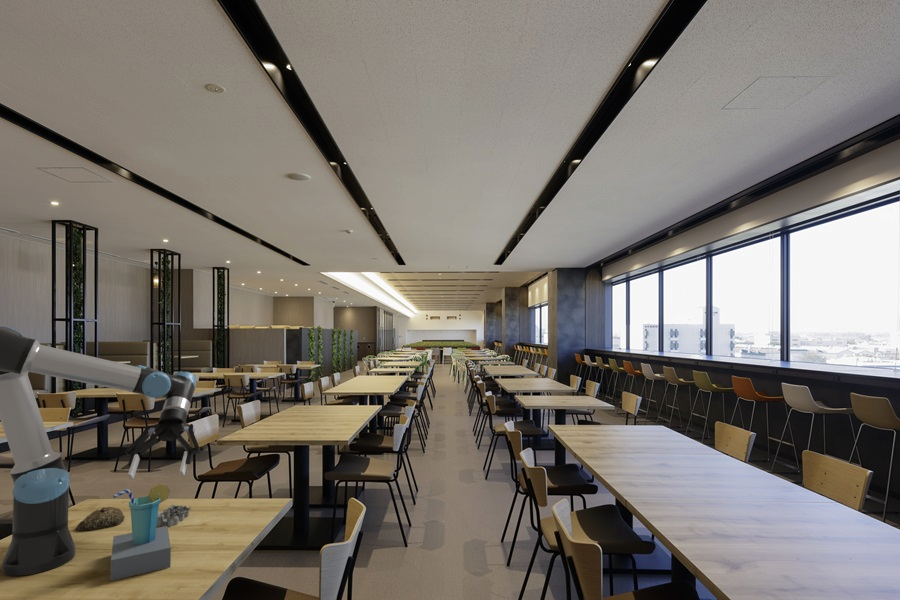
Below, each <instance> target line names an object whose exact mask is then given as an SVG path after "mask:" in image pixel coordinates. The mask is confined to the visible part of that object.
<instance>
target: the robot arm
mask: <svg viewBox="0 0 900 600" xmlns="http://www.w3.org/2000/svg"><path fill="white" fill-rule="evenodd" d="M29 373H33V374H39V375H44V376H50V377H54V378H58V379H62V380H63V379H64V380H70V381H75V382H80V383H82V384H83V383H84V384H89V385H94V386H99V387H103V388H109V389H114V390H119V391H124V392H129V393H133V394H138V395H142V396H146V397H149V398H154V399H158V398H165V400H164V404H163V407H162V411H161V413H160V416H159V420H158V423H157V425H156V427H150V425H147V426H145V428H144V430H143V431H142V432H141V434H140V435H139V436H138V437H137V438H136V439H135V440H134V441H133V442H132V443H131V444H130V445H129V446H128V447H127V448H126V449H125V451H124V453H125V454H126V456H127V457H128V458H129V461H128V463H127V466H128V467H129V471H128V473H127V475H128V478H129V479H130V480H134V479H135V475H136V472H137V470H138V465H140V464H139V463H140V460H141V458H140V456H142V455H143V454H144V453H146V452H147V451H148V450H150V449H151V448H152V447H154V446H155V445H156V444H159V443H161V442H168V441H169V442H174V441H175V440H176V441H177V442H178V443H179V444H180V445H181V446H182V447H183V449H184V450H185V451H184V452H183V456H182V461H181V464H180V468H179V474H180V476H181V477H184V476H185V474H186V470H187V466H188V465H191V464H192V460H193V456H194V454H200V453H201V448H200V446H199V443H198V440H197V438H196V435H195V431H196V430H195V427H194V424H193V423H190V424H189V425H187V426H186V423H187V422H186V421H187V419H188V415H189V411H190V407H191V403H192V399H193V396H194V393H195V390H196V385H197V378H196V376H195V374H193V373H192V372H189V371H178V372H176V373H174V374H169V373H166V372H164V371H161V370H158V369H154V368H152V367H149V366H144V365H141V364H139V365H135V366H134V365H131V364H127V363H126V364H125V363H122V362H117V361H113V360H109V359H105V358H104V359H103V358H101V357H100V358H99V357H95V356H91V355H87V354H82V353H78V352H75V351H69V350H65V349H61V348H55V347H51V346H48V345H44V344H40V342H39V341H38V340H37V339H36V338H35V339H34V338H30V337H25V336H23V334H21V333H20V332H19V331H17V330H16V329H13V328H11V327H7V326H0V422H1V425H2V429H3V431H4V434H5V435H4V436H5V438H6V441H7V443H8V447H9V450H10V452H11V456H12V459H13V462H14V465H13V467H12V468H11V470H10V473H9V474H10V477H11V479H12V482H13V484H14V485H13V488H12V496H13V500H12V502H13V505H12V534H11V535H12V536H11V540H10V543H9V545H8V548H7V551H6V553H5V556H4V558H3V560H2V566H1V572H2V574H3V575H5V576H9V577H10V576H11V577H12V576H13V577H17V576H27V575H28V576H29V575H34V574H39V573H43V572H46V571H49V570H52V569H54V568H57V567H60V566H62V565H64V564H66V563H68V562H70V561H71V560H72V559H74V557H75V556H76V545H75V542H74V540H73V537H72V534H71V532H70V530H69V504H70V503H69V500H70V499H69V498H70V484H71V478H70V473H69V472H68V470H67V469H66V467H65V464H64V461H63V458H62V455H61V453H59V452H55V451H54V450H53V449H52V444H51V443H50V440H49V436H48V433H47V430H46V427H45V424H44V421H43V417H42V415H41V412H40V409H39V406H38V402H37V400H36V397H35V393H34V391H33V387H32V384H31V381H30V378H29ZM185 432H186V434H189V437H190V439H191V440H190V441H191V442H192V445H193V447H192V446H191V445H190V444H189V443H188V441H186V439H185V438H184V437H183V436H182V434H184V433H185Z"/></svg>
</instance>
